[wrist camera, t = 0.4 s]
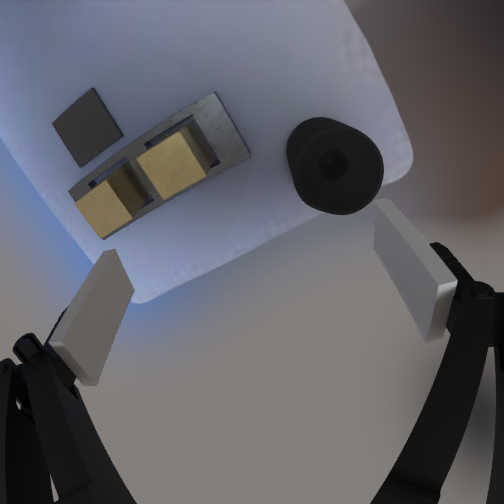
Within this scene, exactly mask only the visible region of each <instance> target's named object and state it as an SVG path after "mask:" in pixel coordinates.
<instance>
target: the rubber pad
mask: <svg viewBox="0 0 504 504" xmlns="http://www.w3.org/2000/svg"><path fill="white" fill-rule="evenodd" d="M52 125H53V126H54V128H55V130H56V131H57V133H58V134H59V136H60V138H61V139H62V141H63V142H64V144H65V146H66V147H67V149H68V150H69V152H70V153H71V155H72V157H73V158H74V160H75V161H76V163H77V164H78V166H79V167H80V168H81V167H83V166H84V165H85V164H86V163H87V162H89V161H90V160H91V159H93V158H94V157H95V156H96V155H98V154H99V153H100V152H102V151H103V150H104V149H106V148H107V147H108V146H110V145H111V144H112V143H114V142H115V141H116V140H118V139H119V138H120V137H122V136H123V134H122V132H121V130H120V129H119V127H118V126H117V124H116V123H115V121H114V119H113V118H112V116H111V115H110V113H109V111H108V110H107V108H106V107H105V105H104V103H103V102H102V100H101V99H100V97H99V95H98V94H97V92H96V90H95V89H94V88H91V89H90V90H89V91H88V92H86V93H85V94H84V95H83V96H82V97H81V98H79V99H78V100H77V101H76V102H75V103H74V104H73V105H71V106H70V107H69V108H68V109H67V110H66V111H65V112H64V113H63V114H61V115H60V116H59V117H58V118H57V119H56V120H55V121H54V122H53V123H52Z"/></svg>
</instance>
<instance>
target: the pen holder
mask: <svg viewBox="0 0 504 504" xmlns="http://www.w3.org/2000/svg"><path fill="white" fill-rule="evenodd" d="M287 158H288V163H289V167H290V170H291V174H292V178H293V181H294V185H295V188H296V190H297V193H298V195H299V196H300V198H301V199H302V200H303V201H304V202H305V203H306V204H307V205H309V206H310V207H312V208H315V209H317V210H320V211H323V212H326V213H330V214H336V215H348V214H351V213H355V212H357V211H359V210H361V209H362V208H364V207H365V206H366V205H368V204H369V203H370V202H371V201H372V200H373V198H374V197H375V196H376V194H377V193H378V191H379V189H380V187H381V184H382V180H383V175H384V165H383V159H382V156H381V154H380V151H379V149H378V148H377V146H376V145H375V144H374V143H373V141H372V140H371V139H370V138H369V137H367V136H366V135H365V134H363V133H362V132H360V131H359V130H357V129H355V128H352V127H350V126H348V125H345V124H343V123H341V122H338V121H335V120H332V119H329V118H323V117H318V118H312V119H309V120H306V121H304V122H302V123H301V124H300V125H298V126H297V127H296V128H295V129H294V131H293V132H292V134H291V135H290V137H289V140H288V143H287Z"/></svg>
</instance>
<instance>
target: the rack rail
mask: <svg viewBox="0 0 504 504" xmlns="http://www.w3.org/2000/svg"><path fill="white" fill-rule="evenodd" d="M191 114H192V115H193V117H194V119H195V120H196V122H197V124H198V125H199V127H200V129H201V130H202V132H203V134H204V135H205V137H206V139H207V140H208V142H209V144H210V145H211V147H212V149H213V150H214V152H215V154H216V155H217V157H218V159H219V161H218V162H216V163H214V164H212V165H211V166H210V169H209V171H208V174H207V176H206V177H204V178H202V179H200V180H199V181H197V182H195V183H193V184H191V185H189V186H188V187H186V188H184V189H182V190H181V191H179V192H177V193H175V194H174V195H172V196H170V197H168V198H167V199H165V200H163V198H162V197H161V195H160V194H159V192H158V191H157V189H156V188H155V186H154V185H153V183H152V182H151V180H150V179H149V177H148V176H147V174H146V173H145V171H144V170H143V168H142V167H141V165H140V164H139V162H138V161H137V159H136V158H138V157H139V156H140V155H141V154H142V153H144V152H145V151H146V150H147V149H148V148H150V147H151V146H152V145H151V144H150V142H149V140H151V139H152V138H154V137H155V136H157V135H158V134H160V133H161V132H163V131H165V130H166V129H168V128H169V127H171V126H173V125H174V124H176V123H178V122H179V121H181V120H183V119H184V118H186V117H188V116H189V115H191ZM124 157H126V158H127V160H128V161H129V163H130V165H131V166H132V168H133V169H134V171H135V172H136V174H137V175H138V177H139V178H140V180H141V181H142V183H143V184H144V186H145V187H146V188H147V190H148V191H149V193H150V194H151V196H152V197H153V198H152V199H151V200H149V201H147V202H146V203H144V204H143V205H142V206H141V208H140V209H139V211H138V212H137V213H136V215H135V216H134V218H133V219H131V220H130V221H128V222H127V223H125V224H123V225H122V226H120V227H119V228H117V229H115V230H114V231H112V232H111V233H109V234H108V235H106V236H104V237H103V238H102V239H103V240H105V239H106V238H108V237H110V236H111V235H113V234H114V233H116V232H118V231H119V230H121V229H122V228H124V227H126V226H127V225H129V224H131V223H132V222H134V221H136V220H137V219H139V218H140V217H142V216H144V215H146V214H147V213H149V212H151V211H152V210H154V209H156V208H157V207H159V206H161V205H163V204H164V203H166V202H168V201H170V200H171V199H173V198H175V197H177V196H178V195H180V194H182V193H184V192H185V191H187V190H189V189H191V188H193V187H194V186H196V185H198V184H200V183H202V182H204V181H206V180H207V179H209V178H211V177H213V176H215V175H217V174H219V173H221V172H222V171H224V170H226V169H228V168H230V167H232V166H234V165H236V164H238V163H240V162H242V161H244V160H246V159H248V158H250V157H251V152H250V150H249V149H248V147H247V145H246V143H245V142H244V140H243V138H242V136H241V134H240V133H239V131H238V129H237V127H236V126H235V124H234V122H233V120H232V119H231V117H230V115H229V113H228V112H227V110H226V108H225V107H224V105H223V103H222V101H221V100H220V98H219V96H218V95H217V93H216V91H215V92H213V93H212V94H210V95H208V96H206V97H204V98H203V99H201V100H199V101H197V102H195V103H194V104H192V105H190V106H189V107H187V108H185V109H184V110H182V111H180V112H179V113H177V114H175V115H174V116H172V117H170V118H169V119H167V120H166V121H164V122H162V123H161V124H159V125H158V126H156V127H155V128H153V129H151V130H150V131H148V132H147V133H145V134H144V135H142V136H141V137H139V138H138V139H136V140H135V141H134V142H132V143H131V144H129V145H128V146H126V147H125V148H123V149H122V150H121V151H119V152H118V153H116V154H115V155H114V156H112V157H111V158H110V159H108V160H107V161H106V162H104V163H103V164H102V165H100V166H99V167H98V168H96V169H95V170H94V171H92V172H91V173H90V174H89V175H87V176H86V177H85V178H83V179H82V180H81V181H80V182H78V183H77V184H76V185H75V186H74V187H72V188H71V189H70V190H69V191H68V192H69V193H70V195H71V196H72V198H73V199H74V201H75V202H77V201H78V200H79V199H80V198H81V197H82V196H83V195H84V194H86V193H87V192H88V191H89V190H90V189H91V188H92V187H93V186H95V185H96V184H97V183H96V182H95V180H94V179H95V178H96V177H98V176H99V175H100V174H102V173H103V172H104V171H106V170H107V169H108V168H110V167H111V166H113V165H114V164H115V163H117V162H118V161H120V160H121V159H122V158H124Z"/></svg>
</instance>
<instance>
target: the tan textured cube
mask: <svg viewBox="0 0 504 504" xmlns="http://www.w3.org/2000/svg"><path fill="white" fill-rule="evenodd" d="M149 195H150V193H149V191H148V190H147V188H146V187H145V186H144V184H143V183H142V181H141V180H140V178H139V177H138V175H137V174H136V172H135V171H134V169H133V168H132V166H131V165H130V163H129V161H127V162H126V163H124V164H123V165H121V166H120V167H118V168H117V169H116V170H114V171H113V172H111V173H110V174H109V175H107V176H106V177H104V178H103V179H102V180H100V181H99V182H98V183H97V184H96V185H95V186H93V187H92V188H91V189H90V190H89V191H88V192H87V193H86V194H84V195H83V196H82V197H81V198H80V199H79V200H78V201H77V202H76V203H75V205H76V206H77V208H78V209H79V210H80V212H81V213H82V215H83V216H84V217H85V219H86V220H87V221H88V223H89V224H90V225H91V227H92V228H93V229H94V231H95V232H96V233H97V235H98V236H99V237H100V239H101V238H103V237H104V236H106V235H108V234H109V233H111V232H112V231H114V230H115V229H117V228H119V227H120V226H122V225H123V224H125V223H127V222H128V221H130V220H131V219H133V218H134V216H135V215H136V213H137V212H138V211H139V209H140V208H141V206H142V205H143V204H144V202H145V201H146V199H147V198H148V197H149Z"/></svg>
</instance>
